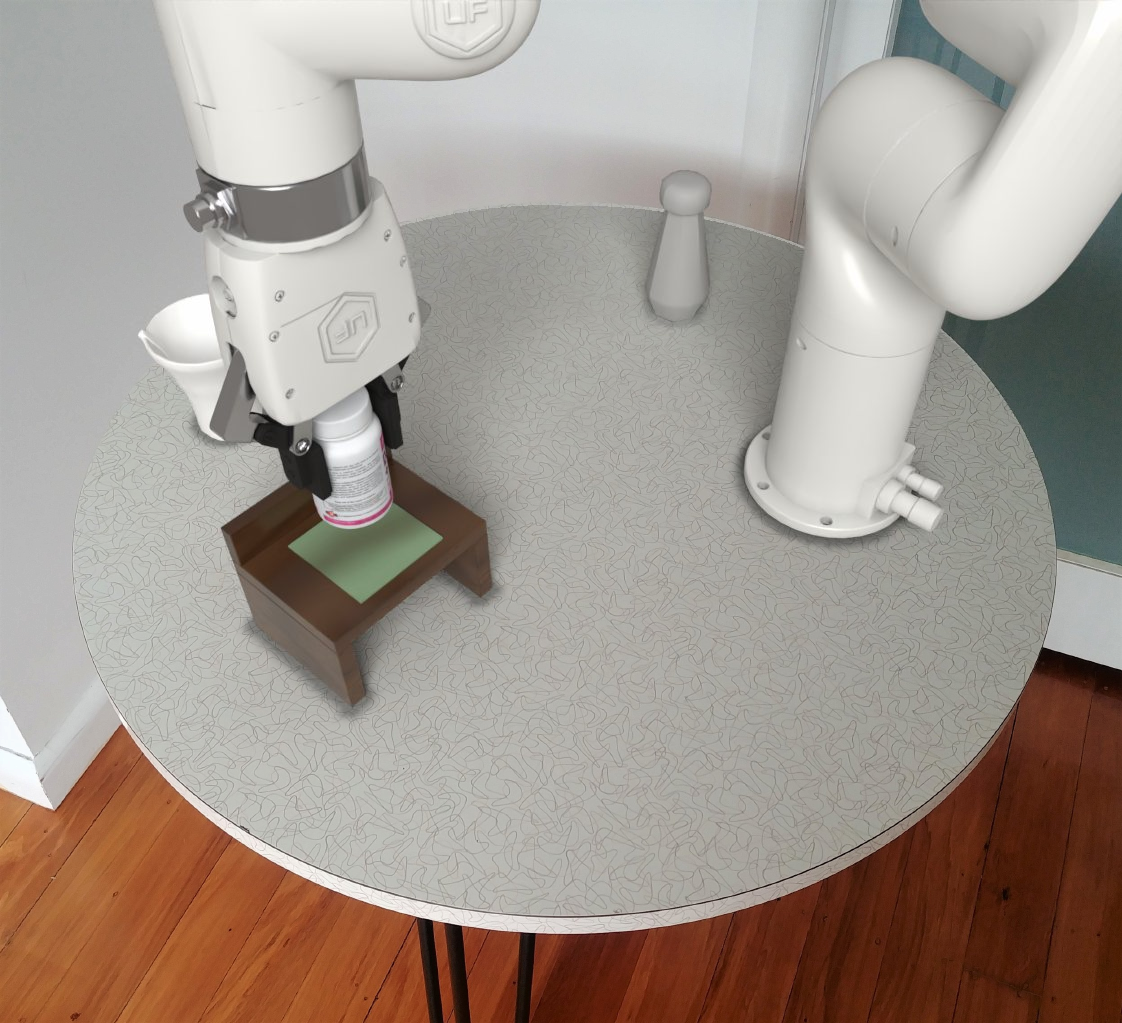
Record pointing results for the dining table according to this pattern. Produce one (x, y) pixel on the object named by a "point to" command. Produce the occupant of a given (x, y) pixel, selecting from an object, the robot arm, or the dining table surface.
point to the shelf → (349, 568)
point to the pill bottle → (353, 463)
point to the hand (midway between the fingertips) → (347, 459)
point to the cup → (190, 354)
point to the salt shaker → (680, 248)
